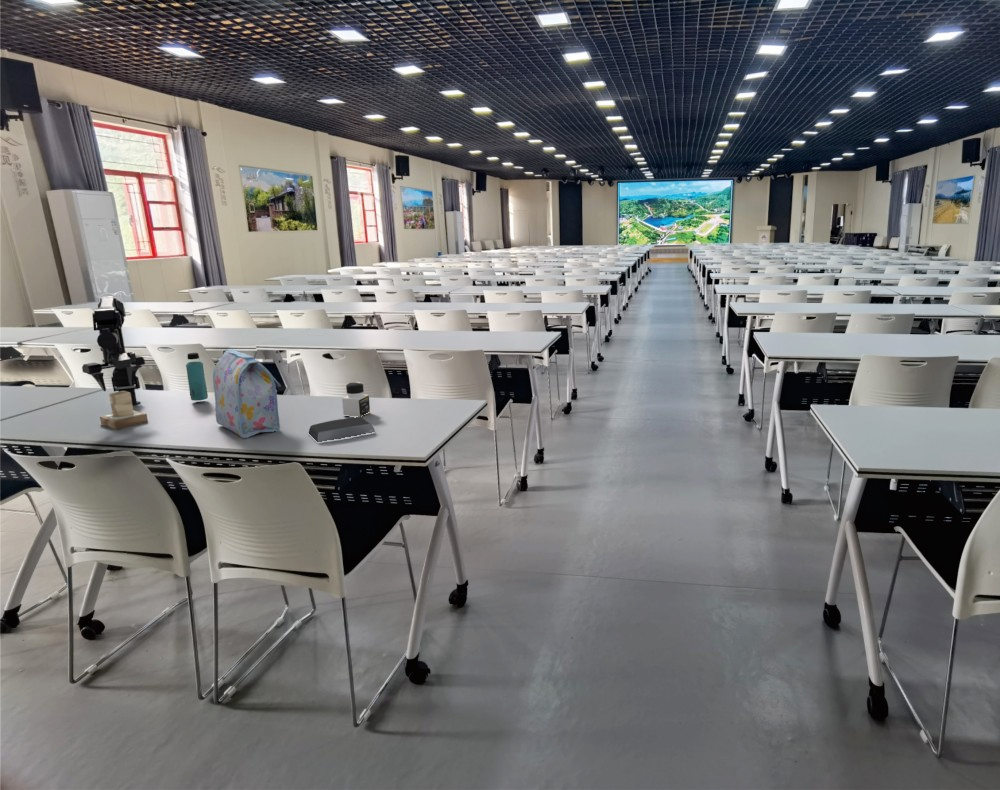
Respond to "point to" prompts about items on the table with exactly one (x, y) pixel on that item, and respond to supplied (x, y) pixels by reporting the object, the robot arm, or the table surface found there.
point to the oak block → (121, 403)
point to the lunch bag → (245, 395)
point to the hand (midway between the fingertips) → (118, 388)
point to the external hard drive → (340, 429)
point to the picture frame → (123, 420)
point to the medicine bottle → (355, 400)
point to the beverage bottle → (196, 378)
